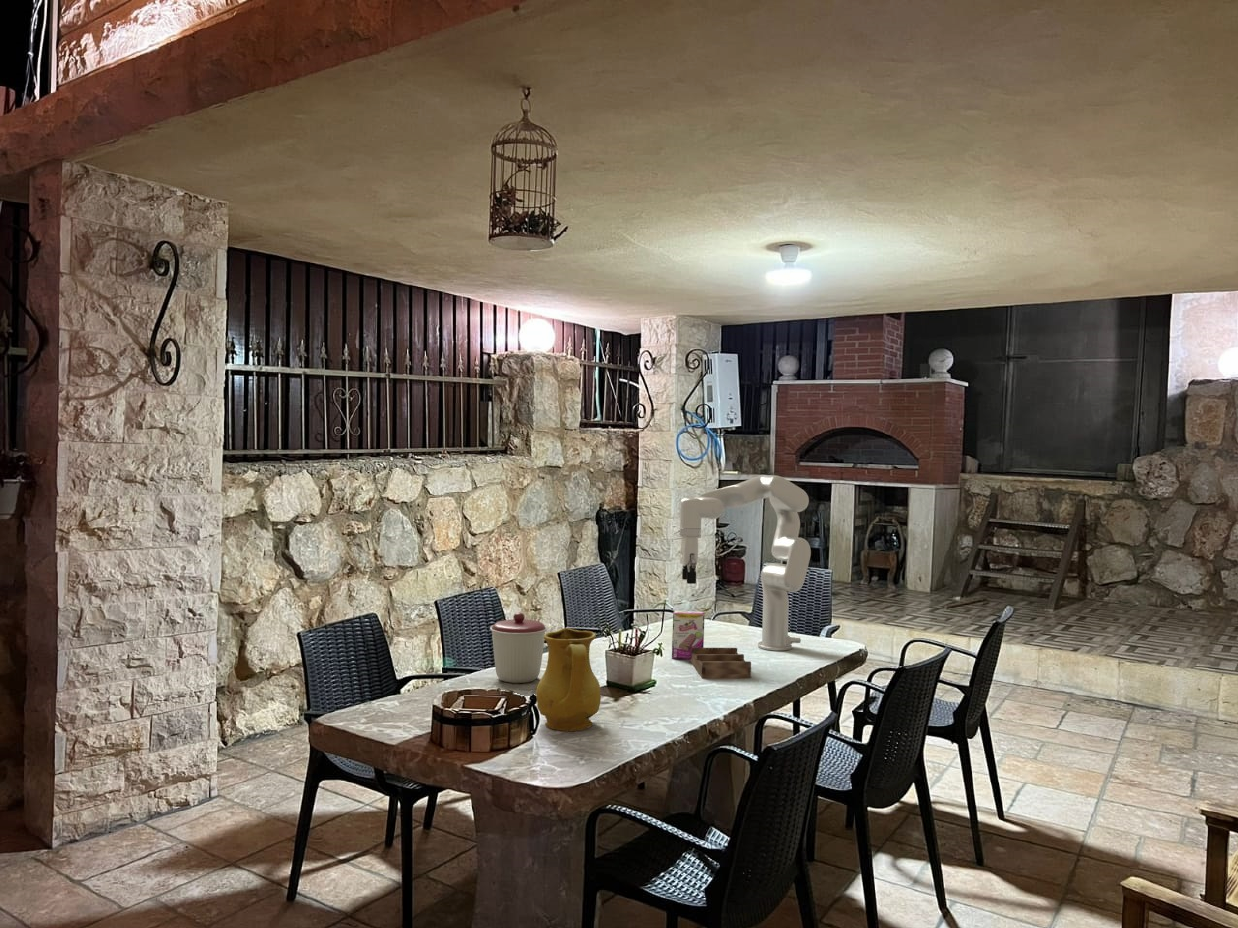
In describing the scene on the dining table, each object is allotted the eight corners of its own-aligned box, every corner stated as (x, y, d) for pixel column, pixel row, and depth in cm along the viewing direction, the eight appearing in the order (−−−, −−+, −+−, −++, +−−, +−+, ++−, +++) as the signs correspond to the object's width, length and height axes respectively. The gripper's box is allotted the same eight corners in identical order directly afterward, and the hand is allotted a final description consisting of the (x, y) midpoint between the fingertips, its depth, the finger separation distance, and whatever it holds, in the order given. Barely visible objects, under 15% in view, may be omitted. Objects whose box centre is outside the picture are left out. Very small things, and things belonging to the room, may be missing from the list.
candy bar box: (671, 659, 311) (672, 612, 310) (672, 655, 316) (673, 610, 315) (703, 660, 309) (704, 613, 309) (703, 657, 314) (704, 611, 314)
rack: (736, 662, 307) (736, 647, 307) (750, 678, 287) (751, 662, 286) (690, 662, 306) (691, 647, 306) (702, 678, 285) (702, 662, 285)
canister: (512, 669, 292) (513, 605, 291) (557, 677, 283) (558, 611, 282) (477, 681, 276) (478, 613, 276) (524, 690, 267) (525, 620, 267)
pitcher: (608, 715, 242) (606, 625, 240) (591, 740, 223) (588, 643, 222) (548, 712, 245) (546, 623, 244) (526, 736, 227) (523, 640, 226)
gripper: (675, 530, 320) (674, 577, 320) (683, 535, 303) (682, 585, 303) (696, 531, 321) (695, 578, 321) (705, 535, 303) (704, 585, 304)
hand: (688, 581), depth 312 cm, fingers open, 9 cm apart
